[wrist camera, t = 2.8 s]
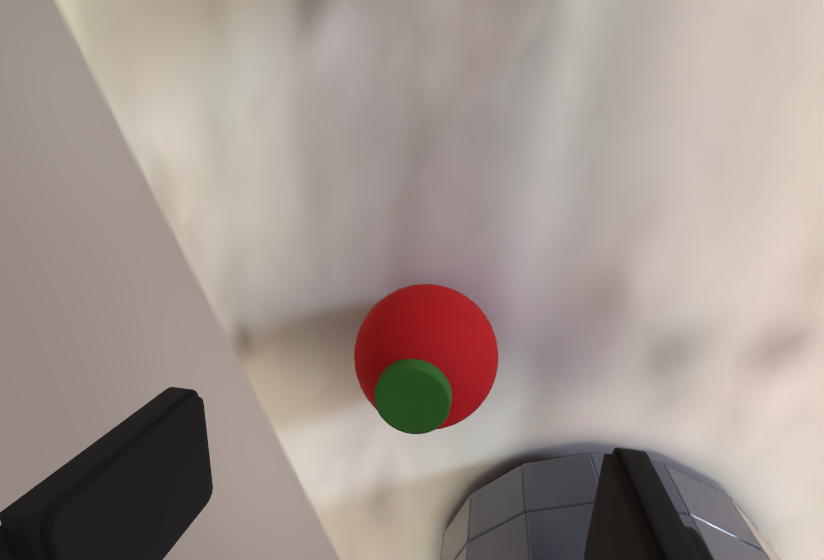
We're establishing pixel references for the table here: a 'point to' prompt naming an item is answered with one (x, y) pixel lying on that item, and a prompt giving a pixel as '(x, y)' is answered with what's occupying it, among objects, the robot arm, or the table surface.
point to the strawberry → (425, 358)
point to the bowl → (583, 514)
